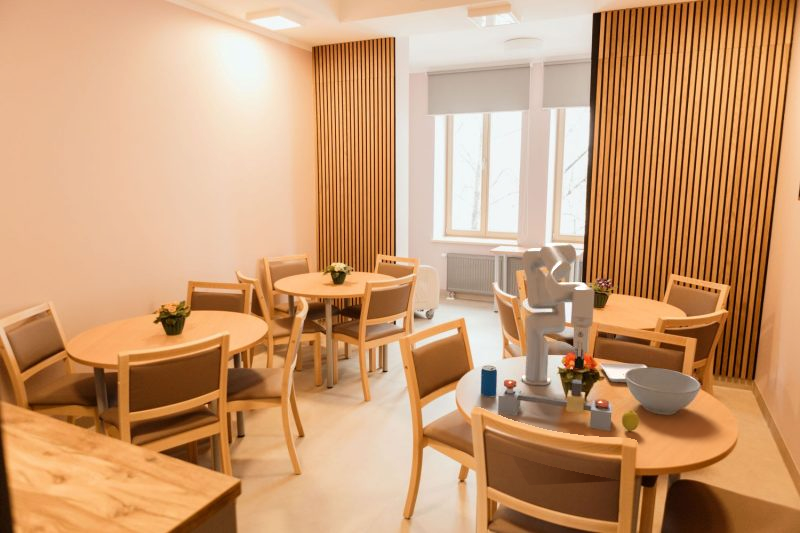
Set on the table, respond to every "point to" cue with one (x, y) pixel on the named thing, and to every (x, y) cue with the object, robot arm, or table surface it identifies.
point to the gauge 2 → (601, 403)
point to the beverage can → (488, 381)
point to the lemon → (630, 420)
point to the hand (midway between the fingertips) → (578, 367)
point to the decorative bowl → (662, 389)
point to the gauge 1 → (510, 386)
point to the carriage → (575, 398)
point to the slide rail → (512, 405)
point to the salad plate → (618, 370)
